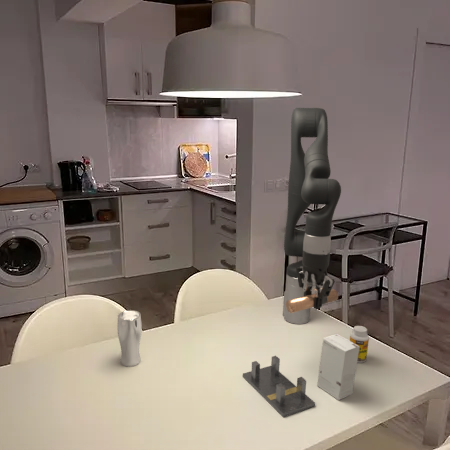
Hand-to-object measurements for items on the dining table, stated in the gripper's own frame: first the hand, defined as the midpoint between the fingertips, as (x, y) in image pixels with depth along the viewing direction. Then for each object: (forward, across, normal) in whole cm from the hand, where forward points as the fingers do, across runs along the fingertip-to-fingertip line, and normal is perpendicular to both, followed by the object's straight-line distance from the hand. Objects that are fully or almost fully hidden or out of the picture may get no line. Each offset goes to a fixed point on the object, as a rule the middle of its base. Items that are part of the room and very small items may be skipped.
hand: (312, 305), depth 134 cm
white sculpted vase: (+19, -28, -45) cm, 57 cm away
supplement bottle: (+19, +5, +16) cm, 26 cm away
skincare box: (+19, +14, -2) cm, 24 cm away
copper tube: (0, 0, 0) cm, 0 cm away
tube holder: (+19, +6, -16) cm, 26 cm away
